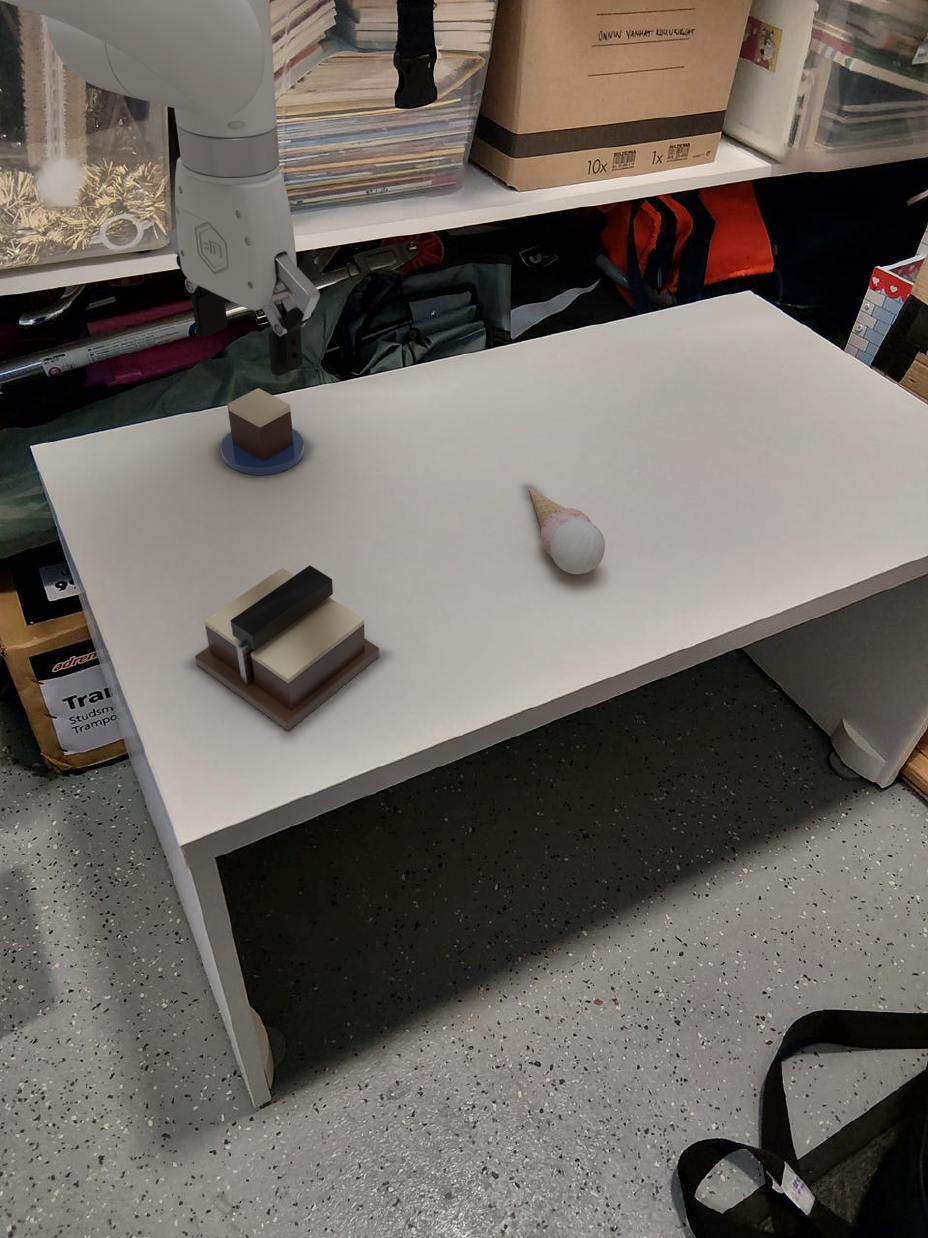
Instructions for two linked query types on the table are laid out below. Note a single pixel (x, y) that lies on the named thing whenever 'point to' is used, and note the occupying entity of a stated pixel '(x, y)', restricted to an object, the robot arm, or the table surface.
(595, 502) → the table surface
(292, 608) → the black and silver bar
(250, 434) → the two-tone brown cube
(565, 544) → the ice cream cone
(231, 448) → the plate
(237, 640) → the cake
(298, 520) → the table surface
